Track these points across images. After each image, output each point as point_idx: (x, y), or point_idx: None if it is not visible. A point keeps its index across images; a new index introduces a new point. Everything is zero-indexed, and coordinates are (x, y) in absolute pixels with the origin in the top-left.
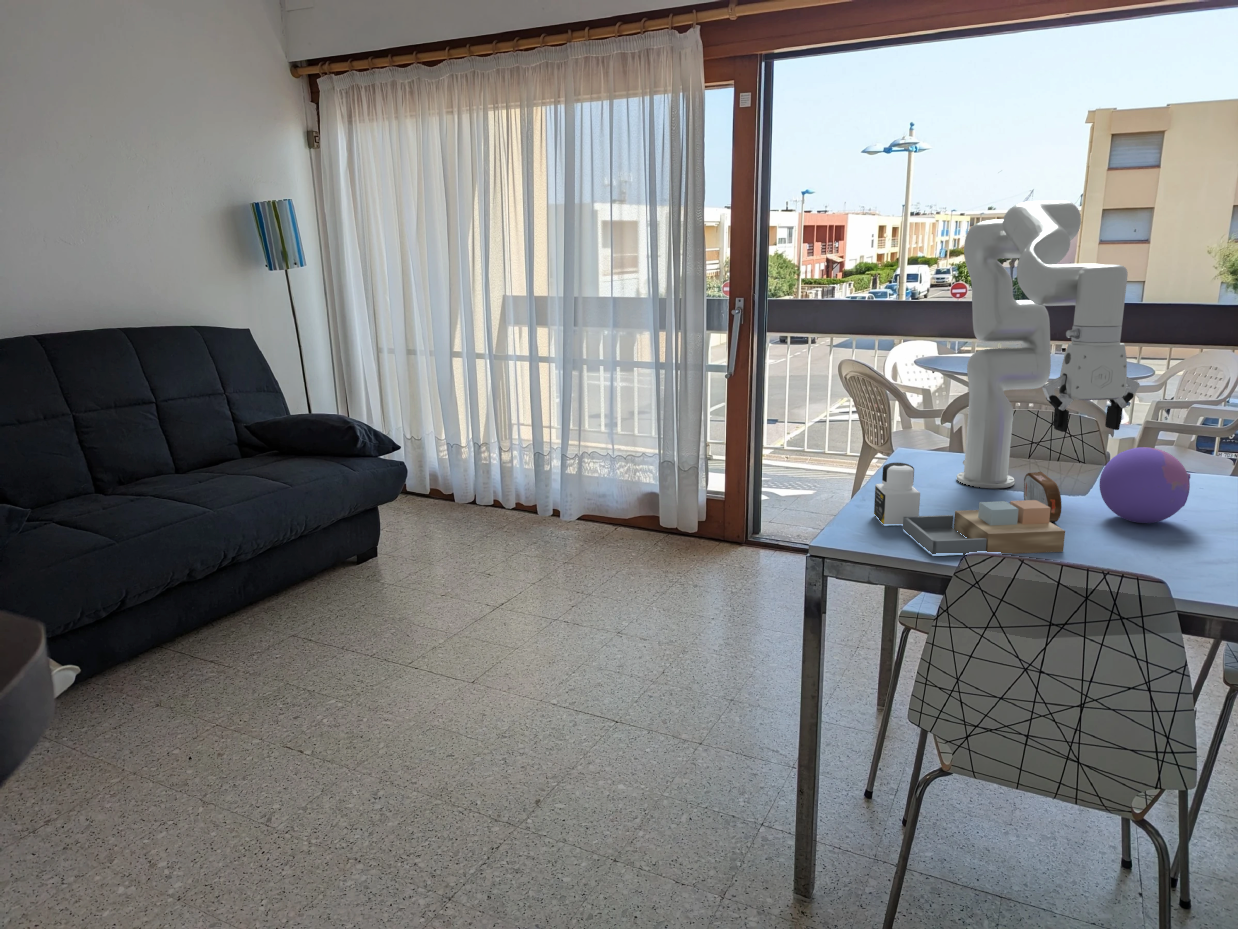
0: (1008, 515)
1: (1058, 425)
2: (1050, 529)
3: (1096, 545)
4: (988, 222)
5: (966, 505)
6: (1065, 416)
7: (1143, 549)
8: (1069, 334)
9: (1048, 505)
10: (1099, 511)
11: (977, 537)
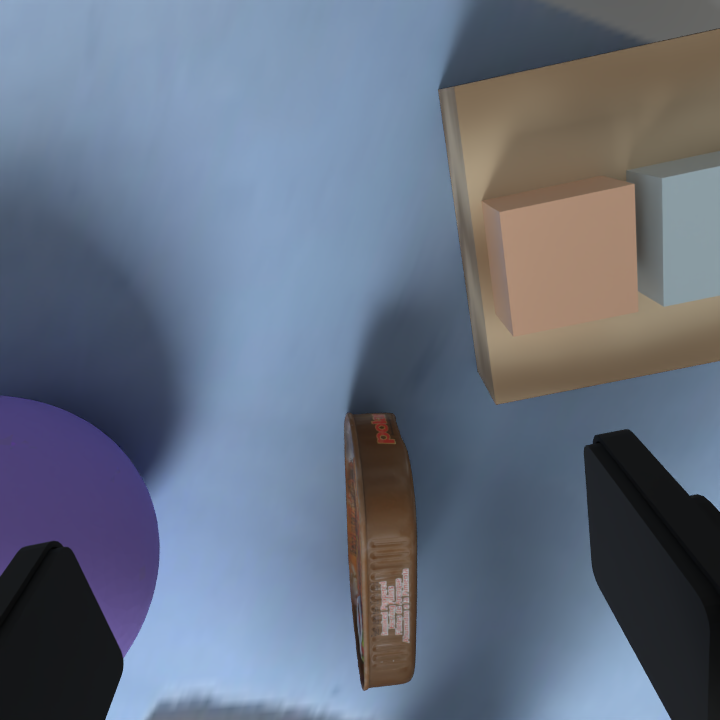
0: (694, 164)
1: (691, 496)
2: (513, 101)
3: (282, 184)
4: None
5: (576, 582)
6: (717, 537)
7: (119, 150)
8: None
9: (398, 429)
10: None
11: None
